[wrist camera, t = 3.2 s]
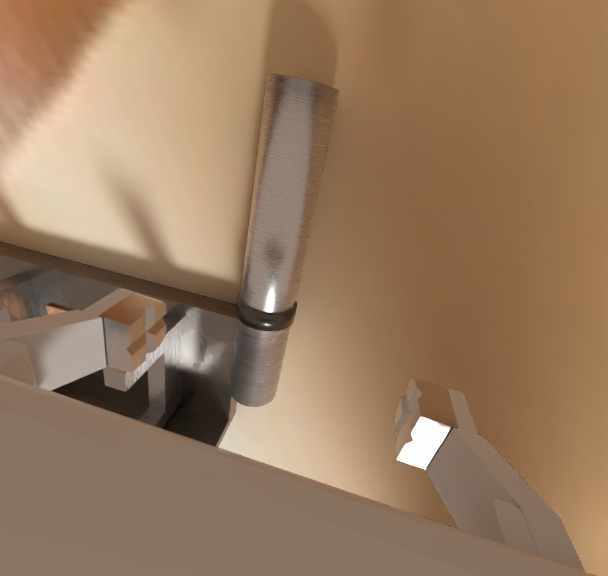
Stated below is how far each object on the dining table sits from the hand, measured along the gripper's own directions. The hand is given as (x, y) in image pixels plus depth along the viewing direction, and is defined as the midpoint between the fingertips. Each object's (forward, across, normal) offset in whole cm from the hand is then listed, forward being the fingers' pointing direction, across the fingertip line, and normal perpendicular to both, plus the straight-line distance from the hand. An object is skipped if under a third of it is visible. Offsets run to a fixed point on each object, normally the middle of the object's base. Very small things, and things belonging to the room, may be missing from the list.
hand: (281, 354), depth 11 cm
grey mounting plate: (+10, +14, +11) cm, 20 cm away
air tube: (+9, +1, +1) cm, 9 cm away
